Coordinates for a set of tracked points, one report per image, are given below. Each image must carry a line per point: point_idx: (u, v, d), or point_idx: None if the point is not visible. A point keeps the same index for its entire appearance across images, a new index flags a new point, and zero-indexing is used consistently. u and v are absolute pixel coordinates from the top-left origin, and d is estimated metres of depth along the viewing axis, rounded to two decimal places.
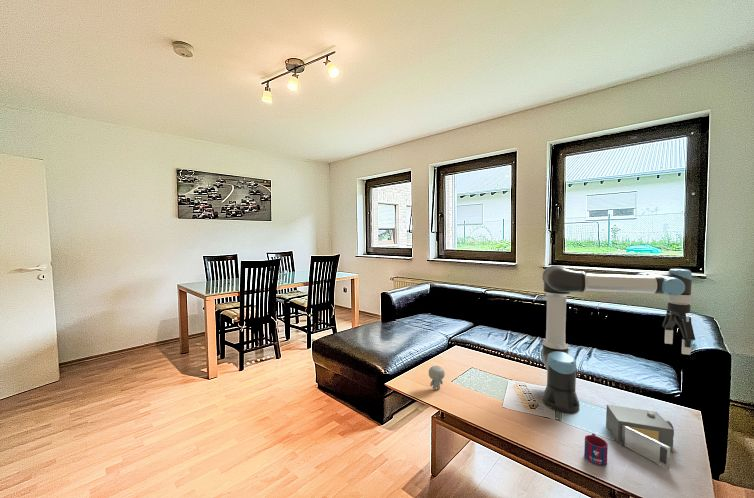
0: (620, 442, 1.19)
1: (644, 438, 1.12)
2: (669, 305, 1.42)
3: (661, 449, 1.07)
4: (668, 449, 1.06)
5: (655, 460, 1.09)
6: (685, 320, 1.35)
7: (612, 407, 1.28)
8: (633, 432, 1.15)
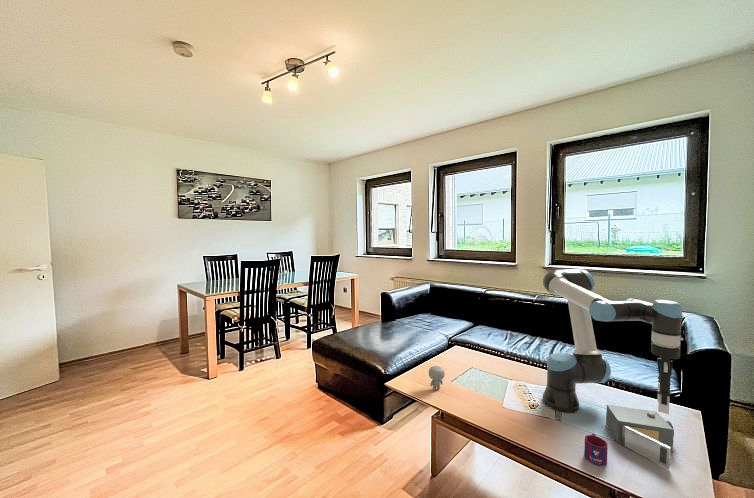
0: (620, 442, 1.19)
1: (644, 438, 1.12)
2: (651, 346, 1.11)
3: (661, 449, 1.07)
4: (668, 449, 1.06)
5: (655, 460, 1.09)
6: (662, 370, 1.05)
7: (612, 407, 1.28)
8: (633, 432, 1.15)
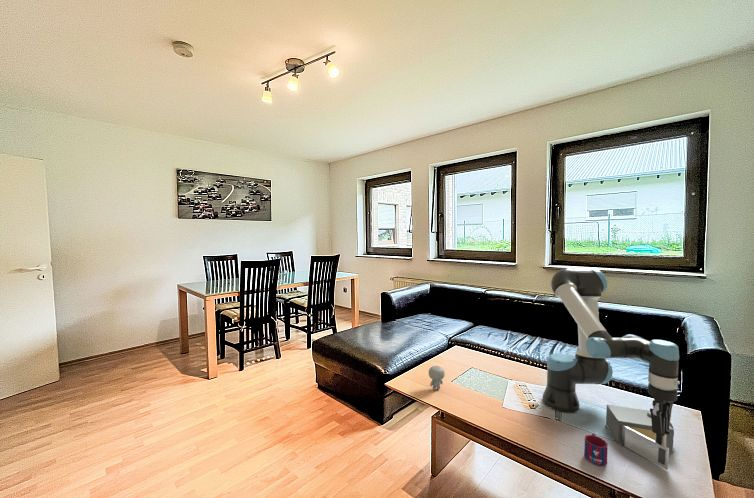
0: (620, 442, 1.19)
1: (643, 439, 1.11)
2: (648, 385, 1.11)
3: (659, 450, 1.07)
4: (667, 450, 1.05)
5: (654, 461, 1.09)
6: (652, 413, 1.06)
7: (612, 407, 1.28)
8: (633, 432, 1.15)
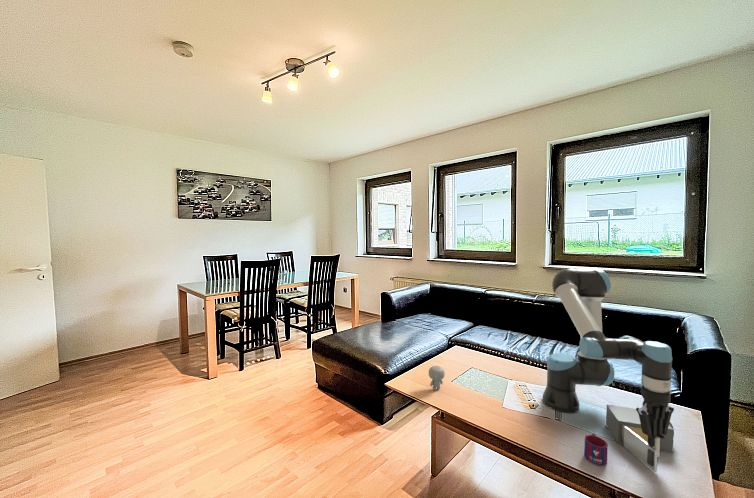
0: (620, 442, 1.19)
1: (637, 439, 1.11)
2: None
3: (648, 451, 1.06)
4: (654, 452, 1.04)
5: (645, 462, 1.08)
6: (639, 412, 1.07)
7: (612, 407, 1.28)
8: (630, 432, 1.15)
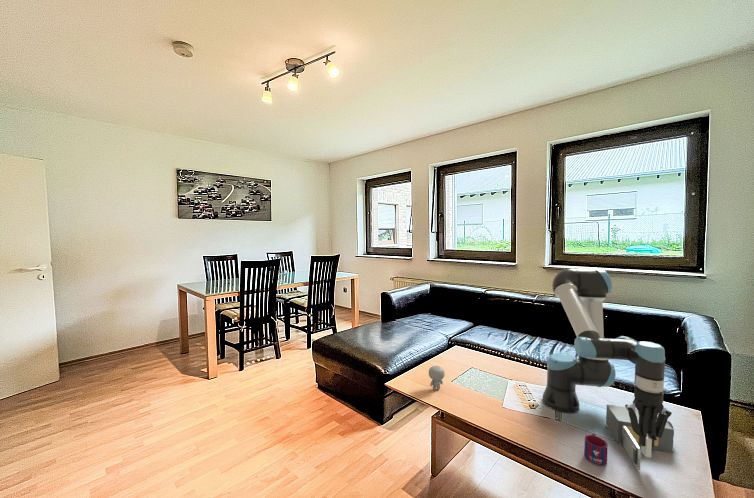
0: (620, 442, 1.19)
1: (629, 438, 1.12)
2: None
3: (633, 449, 1.07)
4: (637, 449, 1.05)
5: (633, 460, 1.09)
6: (627, 409, 1.08)
7: (612, 407, 1.28)
8: (626, 432, 1.15)
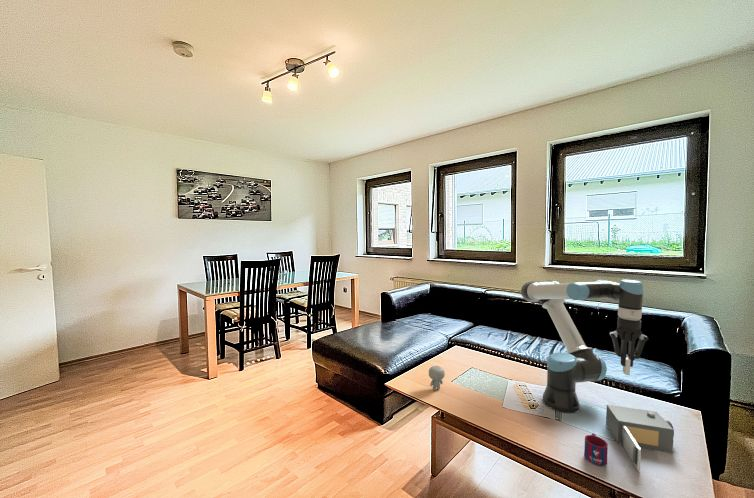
0: (620, 442, 1.19)
1: (629, 438, 1.12)
2: None
3: (633, 449, 1.07)
4: (637, 449, 1.05)
5: (633, 460, 1.09)
6: (611, 336, 1.30)
7: (612, 407, 1.28)
8: (626, 432, 1.15)
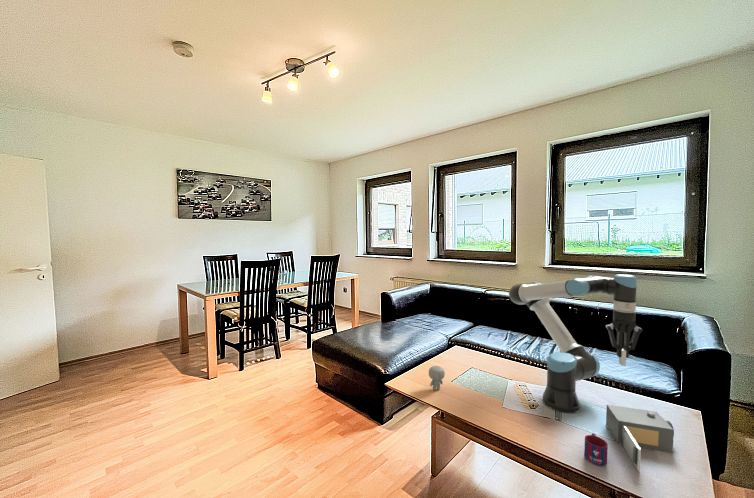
0: (620, 442, 1.19)
1: (629, 438, 1.12)
2: None
3: (633, 449, 1.07)
4: (637, 449, 1.05)
5: (633, 460, 1.09)
6: (607, 328, 1.36)
7: (612, 407, 1.28)
8: (626, 432, 1.15)
